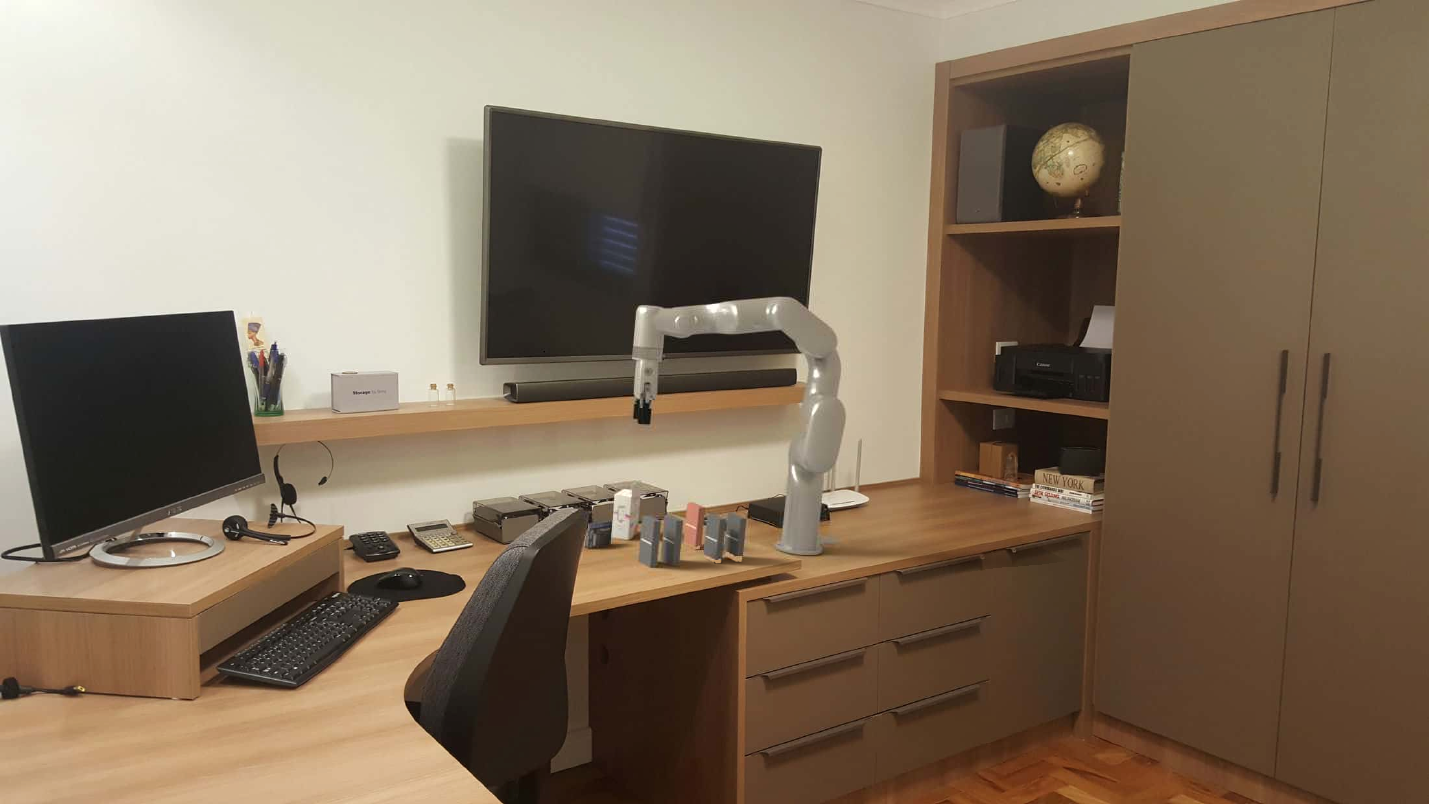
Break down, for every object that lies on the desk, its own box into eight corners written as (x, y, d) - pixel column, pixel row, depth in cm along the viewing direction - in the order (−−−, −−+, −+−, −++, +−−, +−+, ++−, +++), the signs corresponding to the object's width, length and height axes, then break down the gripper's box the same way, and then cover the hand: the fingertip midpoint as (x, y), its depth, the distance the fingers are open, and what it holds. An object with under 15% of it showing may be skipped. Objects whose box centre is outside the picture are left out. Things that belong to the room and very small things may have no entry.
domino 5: (729, 555, 255) (733, 513, 254) (742, 562, 250) (746, 518, 249) (723, 556, 254) (727, 513, 253) (736, 562, 249) (740, 518, 248)
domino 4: (709, 556, 252) (713, 513, 251) (721, 563, 247) (726, 519, 246) (702, 557, 251) (707, 513, 250) (715, 563, 246) (719, 519, 245)
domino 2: (667, 559, 245) (671, 514, 244) (679, 565, 240) (683, 520, 239) (660, 559, 244) (664, 515, 243) (672, 566, 239) (676, 520, 238)
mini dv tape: (587, 549, 248) (589, 525, 248) (583, 547, 249) (585, 523, 248) (610, 544, 255) (612, 521, 254) (606, 543, 256) (608, 520, 255)
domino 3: (689, 543, 264) (693, 502, 263) (701, 549, 259) (705, 507, 258) (683, 544, 263) (687, 502, 262) (694, 549, 258) (698, 507, 257)
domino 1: (645, 560, 242) (649, 515, 241) (656, 567, 237) (661, 521, 236) (638, 560, 241) (642, 515, 240) (649, 567, 236) (654, 521, 235)
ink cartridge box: (619, 531, 270) (624, 477, 268) (637, 534, 269) (642, 479, 267) (610, 538, 261) (615, 482, 260) (628, 540, 260) (633, 484, 259)
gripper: (667, 358, 247) (660, 427, 249) (657, 353, 264) (651, 418, 266) (636, 355, 246) (630, 425, 247) (628, 351, 263) (623, 416, 264)
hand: (641, 421), depth 257 cm, fingers open, 9 cm apart
